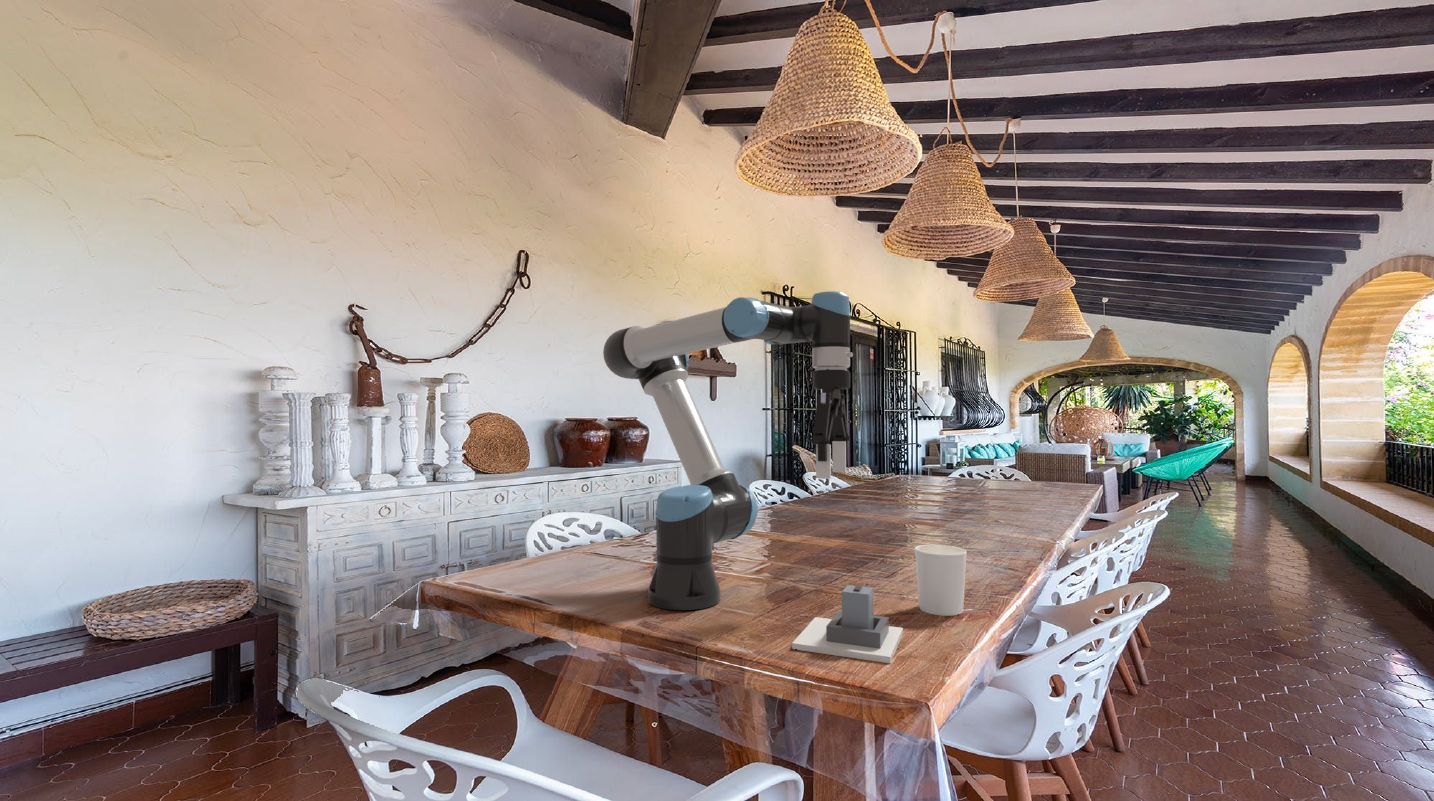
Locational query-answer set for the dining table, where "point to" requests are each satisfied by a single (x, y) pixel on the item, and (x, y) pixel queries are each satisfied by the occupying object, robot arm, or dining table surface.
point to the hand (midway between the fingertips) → (831, 475)
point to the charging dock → (850, 639)
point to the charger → (857, 607)
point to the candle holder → (940, 579)
